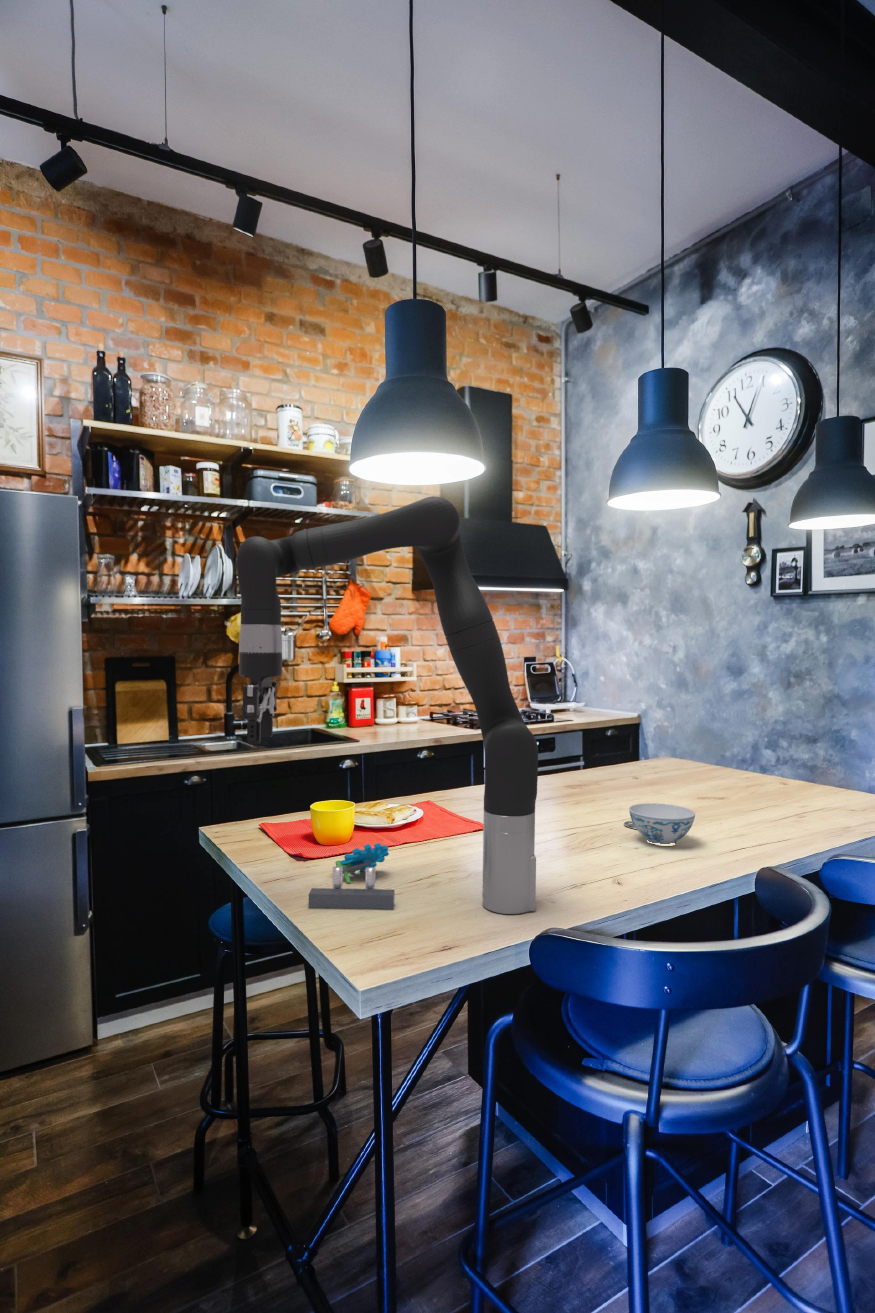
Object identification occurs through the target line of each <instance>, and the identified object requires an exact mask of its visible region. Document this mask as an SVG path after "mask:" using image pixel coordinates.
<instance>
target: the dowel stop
mask: <svg viewBox="0 0 875 1313" xmlns="http://www.w3.org/2000/svg"><path fill="white" fill-rule="evenodd" d="M343 876H344V874H343V867H341V866H336V865H334V866H332V888H331V887H330V888H327V887H326V888H324V887H323V888H322V887H321V888H320V887H318V888H317V887H313V888H310V891H309V892H308V908H309V909H334V910H335V909H336V910H337V909H338V910H339V909H340V910H341V909H343V910H345V909H346V910H350V909H351V910H391V911H392V910H394V908H395V898H396V897H395V894H396V893H395V889H388V888H387V889H385V888H383V889H378V888H377V889H376V866H375V867H366V870H365V876H364V877H365V880H364V881H365V884H364V885H365V888H343V882H344V881H343V880H344V879H343V878H344V877H343Z"/></svg>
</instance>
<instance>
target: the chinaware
mask: <svg viewBox="0 0 875 1313" xmlns="http://www.w3.org/2000/svg"><path fill="white" fill-rule="evenodd" d="M628 810H629V816H630V819H631V820H630V821H631V822H632V824H633V826H634V827H635V829H636V831H637V832H638V833H639V834H640V835H642V836H643V838H644V839H645V838H646V839H647V840H648V841H649V842H652V843H660V844H670V843H675V842H676V843H677V841H680V840H681V839H683V838H684V837H686V835H687V834H688V833H689V832H690V830H691V829H692V826H693V824H694V821H695V817H696V812H695V811H694V810H692V809H690V808H687V807H685V806H680V805H677V804H676V805H675V804H669V803H666V804H665V803H657V802H656V803H653V802H652V803H651V802H649V803H648V802H646V803H637V804H633V805H631V806H629V808H628Z"/></svg>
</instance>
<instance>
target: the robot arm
mask: <svg viewBox="0 0 875 1313" xmlns="http://www.w3.org/2000/svg"><path fill="white" fill-rule="evenodd" d="M460 524H461V522H460V515H459V512H458V510H457V508H456V506H455V505H454V504H453V503H452V502H451V501H449V500H448V499H445V497H441V496H427V497H424V498H422V499H420V500H417V501H414V502H412V503H409V504H406V505H403V506H401V507H399V508H396V509H393V510H390V511H386V512H383V513H379V514H376V515H371V516H368V517H364V518H358V519H354V520H349V521H348V520H347V521H343V522H338V523H337V522H336V523H332V524H327V525H320V526H316V527H310V528H305V529H302V530H298V531H296V532H295V533H293V534H292V535H290V536H287V537H281V538H277V539H268V538H265V537H262V536H257V535H256V536H251V537H248V538H246V539H245V540H243V541H242V543H240V545H239V547H238V550H237V554H236V576H237V580H238V588H239V593H240V599H241V601H240V630H239V637H238V638H239V639H238V641H239V642H238V659H239V660H238V674H239V676H240V677H242V678H243V677H244V678H249V681H248V682H249V684H243V686H242V715H241V718H242V720H244V721H245V722H246V742H247V743H248V744H249V745H256V744H257V745H258V744H260V743H261V741H262V740H261V738H272V736H273V734H274V732H273V730H274V729H273V726H274V719H273V718H274V716H275V713H276V712H277V710H278V708H277V705H278V704H277V703H278V702H277V685H278V684H277V680H273V679H272V678H279V677H281V676H282V675H283V632H282V626H281V624H282V604H281V602H282V601H281V598H280V595H279V594H278V590H277V578H280V577H285V576H288V575H291V574H295V573H297V572H300V571H303V570H310V569H316V568H322V567H323V568H324V567H328V566H332V565H338V564H341V563H345V562H349V561H351V560H352V561H353V560H355V559H358V558H361V557H364V556H367V555H371V554H373V553H374V554H375V553H377V552H381V551H382V552H383V551H385V550H391V549H399V548H409V547H412V548H413V547H414V548H415V547H416V549H417V551H418V553H419V555H420V557H421V559H422V561H423V563H424V566H425V568H426V571H427V573H428V576H429V578H430V581H431V583H432V586H433V592H434V596H435V602H436V606H437V611H438V617H439V620H440V624H441V628H442V631H443V635H444V637H445V641H446V643H447V647H448V649H449V652H450V655H451V657H452V660H453V662H454V664H455V667H456V668H457V671H458V674H459V676H460V678H461V680H462V682H463V684H464V686H465V687H466V690H467V692H468V694H469V695H470V698H471V700H472V703H473V705H474V709H475V712H476V716H477V720H478V724H479V728H480V731H481V732H480V733H481V735H482V736H481V737H482V742H483V748H484V750H483V751H484V756H485V758H484V760H485V761H484V764H485V765H484V794H483V827H482V828H483V832H482V833H483V838H482V840H483V841H482V842H483V844H482V891H481V894H482V897H481V898H482V901H481V903H482V907H484V908H485V909H486V910H489V911H491V912H494V913H498V914H504V915H505V914H506V915H517V914H518V915H519V914H524V913H527V912H535V911H536V894H537V892H536V890H537V889H536V887H537V882H536V881H537V858H536V854H535V846H536V845H535V844H536V843H535V842H536V841H535V838H536V835H535V834H536V829H535V828H536V802H537V796H538V779H539V778H538V776H539V747H538V742H537V739H536V737H535V735H534V734H533V732H532V730H530V729H529V727H528V726H527V725H526V722H525V720H524V718H523V715H522V714H521V711H520V710H519V707H518V705H517V703H516V700H515V698H514V695H513V693H512V689H511V687H510V681H509V676H508V675H509V674H508V670H507V668H508V667H507V664H506V659H505V653H504V649H503V646H502V642H501V638H500V635H499V633H498V630H497V627H496V624H495V622H494V618H493V615H492V613H491V611H490V608H489V606H488V603H487V602H486V599H485V598H484V596H483V593H482V592H481V589H480V587H479V586H478V584H477V582H476V580H475V578H474V577H473V574H472V573H471V570H470V568H469V564H468V561H467V557H466V554H465V550H464V545H463V541H462V538H461V537H462V536H461V531H460Z"/></svg>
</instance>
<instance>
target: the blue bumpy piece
mask: <svg viewBox="0 0 875 1313" xmlns="http://www.w3.org/2000/svg"><path fill="white" fill-rule="evenodd" d="M371 846H372V845H371V844H370V843H368V844H365V845H363V849H360V848H359V847H356V848H354V849H353V850H352V853H346V854H345V855H344V859H343V860H340V859H339V860H336V861H334V862H335V866H341V867H343V875H344V877H345V881H346V884H350V883H351V879H350V874H352V873H355V872H357V871H359V872H361V873H362V872H364V871H365V872H366V867H375V868H376V867H377V866H378V864H377V863H384V861H385V860H386V859H385V857H388V856H389V847H388V845H386V844H383V845H382V843H380V842H377V843H374V845H373V846H374V848H372V847H371Z"/></svg>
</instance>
